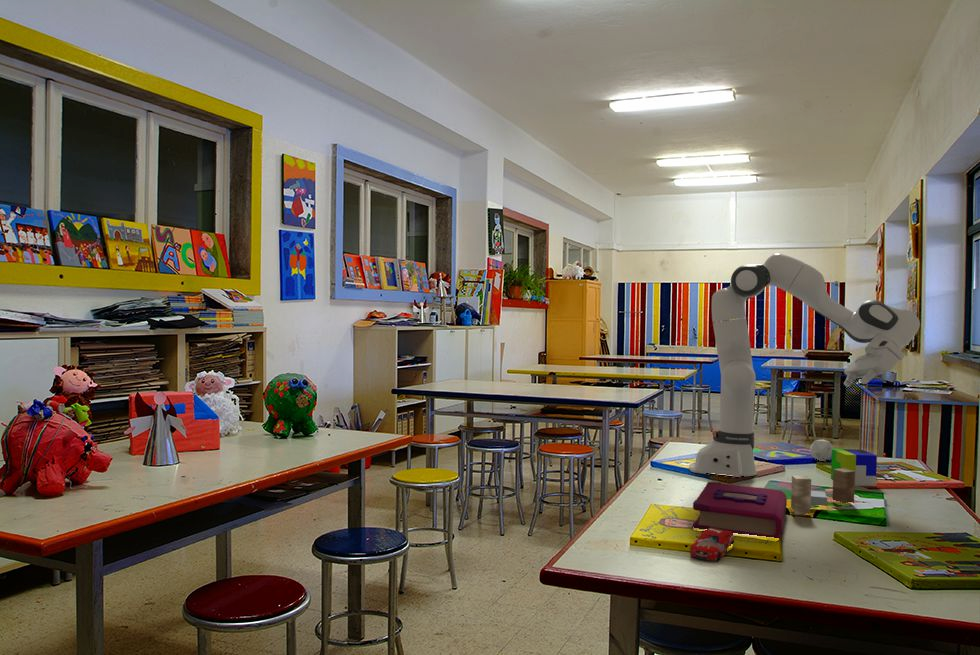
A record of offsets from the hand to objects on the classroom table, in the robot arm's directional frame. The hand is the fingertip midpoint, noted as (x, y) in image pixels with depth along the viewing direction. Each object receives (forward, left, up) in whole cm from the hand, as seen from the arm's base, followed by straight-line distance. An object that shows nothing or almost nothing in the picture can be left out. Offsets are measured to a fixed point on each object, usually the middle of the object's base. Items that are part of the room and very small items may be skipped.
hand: (854, 384), depth 227 cm
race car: (-41, -77, -34) cm, 93 cm away
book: (-34, -49, -34) cm, 69 cm away
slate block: (-14, -25, -34) cm, 44 cm away
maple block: (-18, -34, -34) cm, 51 cm away
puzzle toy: (+3, +14, -34) cm, 37 cm away
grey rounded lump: (-2, +49, -34) cm, 60 cm away
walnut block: (-5, -19, -34) cm, 39 cm away
